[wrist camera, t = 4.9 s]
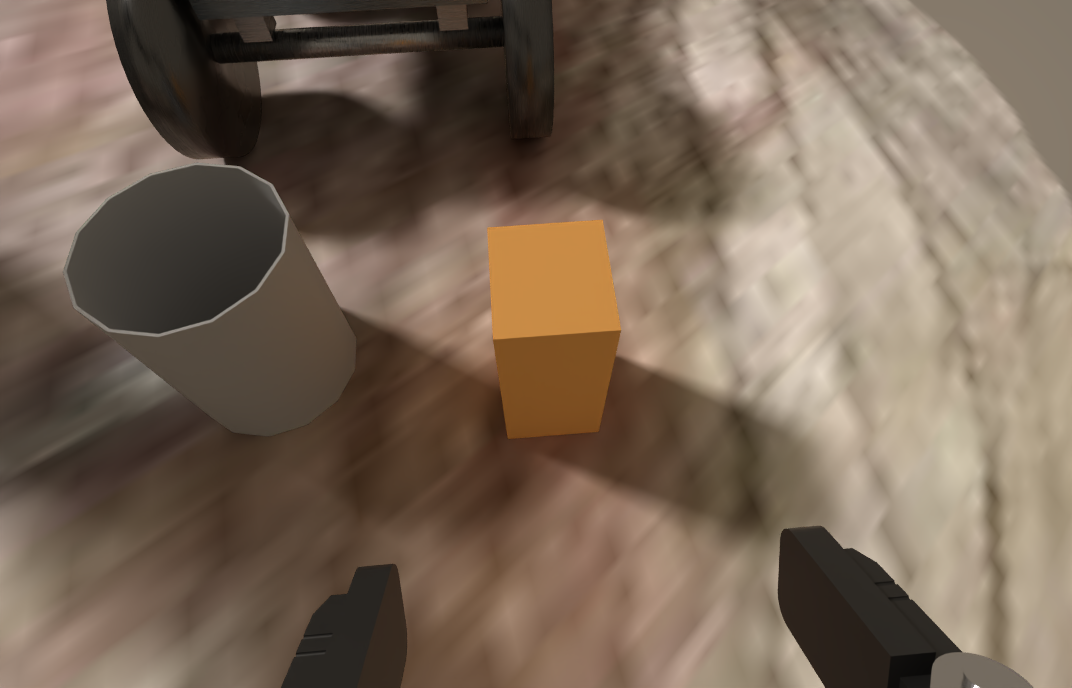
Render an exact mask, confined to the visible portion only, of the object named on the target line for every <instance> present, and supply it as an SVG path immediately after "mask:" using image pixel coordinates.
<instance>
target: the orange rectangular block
mask: <svg viewBox="0 0 1072 688" xmlns="http://www.w3.org/2000/svg"><path fill="white" fill-rule="evenodd" d="M487 231H488V251H489V270H490V290H491V309H492V329H493V343H494V349H495V356H496V363H497V370H498V376H499V383H500V390H501V397H502V403H503V410H504V417H505V424H506V431H507V437H508V439H514V438H527V437H540V436H552V435H565V434H578V433H591V432H599V428H600V424H601V419H602V414H603V410H604V405H605V401H606V396H607V392H608V387H609V383H610V378H611V374H612V369H613V364H614V360H615V355H616V351H617V346H618V342H619V337H620V333H621V327H620V321H619V315H618V309H617V303H616V297H615V291H614V285H613V279H612V274H611V268H610V262H609V256H608V250H607V244H606V238H605V232H604V226H603V220H592V221H577V222H563V223H548V224H534V225H519V226H504V227H490V228H487Z"/></svg>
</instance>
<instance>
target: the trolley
mask: <svg viewBox="0 0 1072 688" xmlns="http://www.w3.org/2000/svg"><path fill="white" fill-rule="evenodd" d="M106 2H107V10H108V15H109V20H110V25H111V30H112V34H113V37H114V41H115V45H116V48H117V51H118V54H119V57H120V60H121V63H122V66H123V68H124V71H125V73H126V76H127V79H128V81H129V83H130V85H131V87H132V89H133V92H134V94H135V96H136V98H137V100H138V101H139V103H140V105H141V107H142V109H143V110H144V112H145V114H146V115H147V117H148V118H149V120H150V121H151V123H152V124H153V126H154V127H155V128H156V130H157V131H158V132H159V134H160V135H161V136H162V137H163V138H164V139H165V140H166V141H167V142H168V144H170V145H171V146H172V147H173V148H174V149H175V150H177V151H178V152H180V153H181V154H183V155H184V156H187V157H189V158H192V159H211V158H226V157H240V156H244V155H246V154H248V153H249V152H250V151H251V150H252V148H253V147H254V145H255V143H256V140H257V137H258V133H259V129H260V122H261V88H260V79H259V72H258V66H257V62H259V61H275V60H292V59H308V58H325V57H341V56H358V55H374V54H391V53H407V52H424V51H440V50H457V49H473V48H490V47H504V60H505V73H506V87H507V100H508V112H509V124H510V135H511V139H520V138H535V137H550V136H551V133H552V126H553V109H554V51H553V20H552V0H500V2H501V16H495V17H478V18H468V11H467V4H484V3H487V0H106ZM432 6H436V8H437V15H438V20H427V21H410V22H393V23H377V24H360V25H343V26H326V27H309V28H292V29H275V28H276V21H275V19H274V16H278V15H296V14H313V13H330V12H347V11H364V10H381V9H398V8H415V7H432Z"/></svg>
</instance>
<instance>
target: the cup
mask: <svg viewBox="0 0 1072 688" xmlns="http://www.w3.org/2000/svg"><path fill="white" fill-rule="evenodd" d="M63 274H64V277H65V281H66V284H67V288H68V291H69V294H70V298H71V301H72V304H73V308H74V309H76V310H77V311H78V312H79V313H81V314H82V315H83V316H84V317H86V318H87V319H88V320H89V321H91V322H92V323H93V324H94V325H96V326H97V327H98V328H99V329H101V330H102V331H103V332H104V333H106V334H107V335H108V336H109V337H111V338H112V339H113V340H114V341H116V342H117V343H118V344H119V345H121V346H122V347H123V348H124V349H126V350H127V351H128V352H129V353H131V354H132V355H133V356H134V357H136V358H137V359H138V360H140V361H141V362H142V363H143V364H145V365H146V366H147V367H148V368H150V369H151V370H152V371H153V372H155V373H156V374H157V375H158V376H160V377H161V378H162V379H163V380H165V381H166V382H167V383H168V384H170V385H171V386H172V387H173V388H175V389H176V390H177V391H178V392H180V393H181V394H182V395H183V396H185V397H186V398H187V399H188V400H190V401H191V402H192V403H193V404H195V405H196V406H197V407H199V408H200V409H201V410H202V411H204V412H205V413H206V414H207V415H209V416H210V417H212V418H213V419H214V420H216V421H217V422H219V423H220V424H221V425H223V426H224V427H226V428H227V429H228V430H230V431H231V432H233V433H242V434H251V435H259V436H268V437H269V436H273V435H276V434H279V433H282V432H286V431H289V430H292V429H295V428H299V427H302V426H305V425H308V424H309V423H310V422H311V421H313V420H314V419H315V418H316V417H318V416H319V415H320V414H321V413H323V412H324V411H325V410H327V409H328V408H329V407H330V406H332V405H333V404H334V403H335V402H337V401H338V399H339V398H340V396H341V394H342V392H343V390H344V389H345V387H346V385H347V383H348V381H349V380H350V378H351V376H352V374H353V372H354V371H355V362H356V337H355V335H354V333H353V331H352V329H351V327H350V325H349V324H348V322H347V320H346V318H345V316H344V314H343V313H342V311H341V309H340V307H339V305H338V303H337V302H336V300H335V298H334V296H333V294H332V292H331V291H330V289H329V287H328V285H327V283H326V281H325V279H324V278H323V276H322V274H321V272H320V270H319V268H318V267H317V265H316V263H315V261H314V259H313V257H312V256H311V254H310V252H309V250H308V248H307V246H306V245H305V243H304V241H303V239H302V237H301V235H300V234H299V232H298V230H297V228H296V226H295V224H294V222H293V221H292V219H291V217H290V215H289V213H288V211H287V210H286V208H285V206H284V204H283V202H282V201H281V199H280V197H279V195H278V193H277V191H276V190H275V188H274V186H273V184H271V183H269V182H268V181H266V180H264V179H262V178H260V177H258V176H257V175H255V174H253V173H251V172H249V171H248V170H246V169H244V168H242V167H240V166H231V165H219V164H206V163H193V164H189V165H185V166H181V167H176V168H172V169H168V170H164V171H160V172H155V173H151V174H149V175H147V176H145V177H144V178H142V179H140V180H138V181H137V182H135V183H133V184H131V185H129V186H128V187H126V188H124V189H122V190H121V191H119V192H117V193H115V194H114V195H112V196H110V197H108V198H107V199H106V200H105V201H104V202H103V203H102V205H101V206H100V207H99V208H98V209H97V210H96V211H95V212H94V213H93V214H92V216H91V217H90V218H89V219H88V220H87V221H86V222H85V223H84V224H83V225H82V227H81V228H80V229H79V230H78V231H77V232H76V234H75V237H74V240H73V243H72V246H71V249H70V252H69V255H68V258H67V261H66V264H65V267H64V270H63Z"/></svg>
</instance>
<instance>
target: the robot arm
mask: <svg viewBox="0 0 1072 688" xmlns="http://www.w3.org/2000/svg"><path fill="white" fill-rule="evenodd" d="M778 600H779V606H780V610H781V613H782V616H783V619H784V621H785V623H786V625H787V627H788V628H789V630H790V631H791V633H792V635H793V636H794V638H795V640H796V641H797V643H798V644H799V646H800V648H801V649H802V651H803V652H804V654H805V656H806V657H807V659H808V660H809V662H810V664H811V665H812V667H813V668H814V670H815V672H816V673H817V675H818V677H819V678H820V680H821V681H822V683H823V685H824V686H825V688H1033V687H1032V686H1031V685H1030V684H1029V683H1028V681H1027V680H1025V679H1024V678H1023V677H1022V676H1021V675H1019V674H1018V673H1016V672H1015V671H1014V670H1012V669H1010V668H1009V667H1007V666H1005V665H1003V664H1001V663H999V662H997V661H995V660H992V659H990V658H987V657H984V656H980V655H976V654H971V653H963V652H962V651H961V650H960V649H959V648H958V647H957V646H956V645H955V644H954V643H953V642H952V641H951V640H950V639H949V638H948V637H947V636H946V635H945V633H944V632H943V631H942V630H941V629H940V628H939V627H938V626H937V625H936V624H935V623H934V622H933V621H932V620H931V619H930V618H929V617H928V616H927V615H926V614H925V612H924V611H923V610H922V609H921V608H920V607H919V606H918V605H917V604H916V603H915V602H914V601H913V600H910V599H909V596H908V595H907V594H906V593H905V591H904V590H903V589H902V588H901V587H900V586H899V585H898V584H897V585H895V582H894V580H893V579H892V578H891V577H890V576H889V575H888V574H887V573H886V572H885V570H884V569H883V568H882V567H881V566H880V565H879V564H878V563H877V562H875V561H873V560H872V559H870V558H868V557H866V556H865V555H863V554H861V553H860V552H858V551H856V550H855V549H853V548H849V549H843V548H842V547H841V546H840V544H839V543H838V542H837V541H836V540H835V539H834V538H833V537H832V536H831V534H830V533H829V532H828V531H827V530H826V529H825V528H824V527H822V526H811V527H799V528H788V529H784V530H783V531H782V533H781V537H780V555H779V576H778ZM406 655H407V628H406V620H405V614H404V607H403V600H402V593H401V587H400V580H399V573H398V569H397V566H396V565H395V564H387V565H376V566H364V567H358V568H357V570H356V572H355V575H354V577H353V580H352V583H351V585H350V588H349V591H348V593H347V594H342V595H331V596H330V597H329V598H328V599H327V600H326V601H325V602H324V603H323V604H322V605H321V607H320V608H319V609H318V610H317V611H316V612H315V613H314V614H313V615H312V618H311V620H310V622H309V624H308V627H307V629H306V631H305V634H304V639H303V640H301V643H300V645H299V647H298V650H297V652H296V657H294V659H293V661H292V663H291V666H290V668H289V670H288V673H287V675H286V677H285V680H284V682H283V684H282V686H281V688H400V686H401V681H402V677H403V672H404V667H405V662H406Z"/></svg>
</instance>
